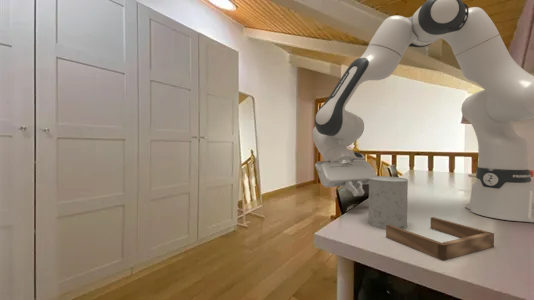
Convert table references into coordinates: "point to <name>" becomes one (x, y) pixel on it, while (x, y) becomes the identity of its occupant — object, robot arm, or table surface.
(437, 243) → the walnut corral
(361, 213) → the table surface
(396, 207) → the grey speckled cylinder
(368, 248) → the table surface
